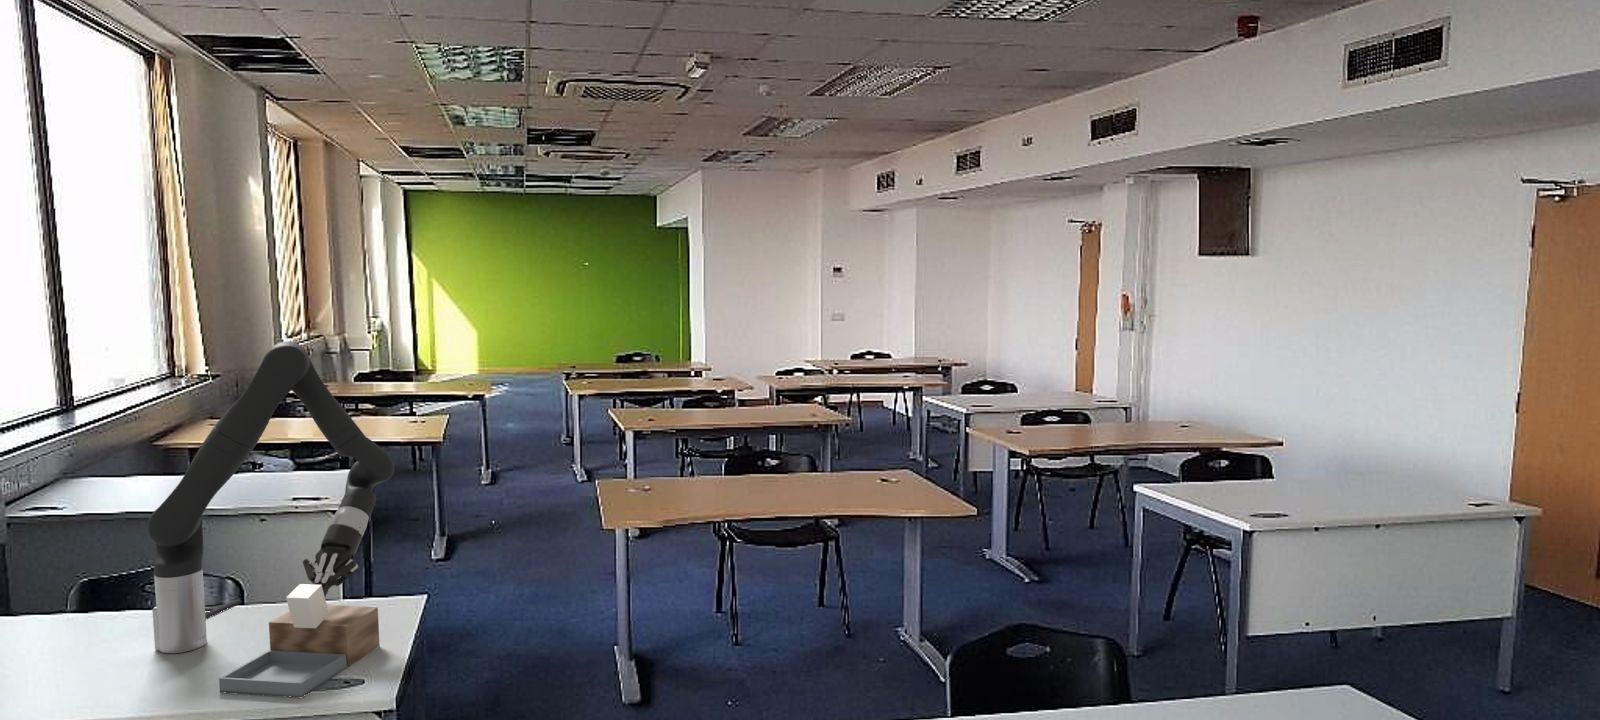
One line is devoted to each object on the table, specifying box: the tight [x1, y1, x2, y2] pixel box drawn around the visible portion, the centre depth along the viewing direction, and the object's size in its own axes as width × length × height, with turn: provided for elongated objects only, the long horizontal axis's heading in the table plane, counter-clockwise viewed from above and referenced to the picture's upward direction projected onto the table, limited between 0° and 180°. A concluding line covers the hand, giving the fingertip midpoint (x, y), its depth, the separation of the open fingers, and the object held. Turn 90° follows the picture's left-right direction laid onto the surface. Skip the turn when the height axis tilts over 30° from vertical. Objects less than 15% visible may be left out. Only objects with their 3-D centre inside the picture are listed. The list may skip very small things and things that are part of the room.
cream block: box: [285, 583, 329, 628], centre depth 215 cm, size 5×5×8 cm
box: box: [218, 649, 348, 698], centre depth 209 cm, size 18×15×3 cm
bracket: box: [205, 598, 243, 619], centre depth 251 cm, size 14×15×3 cm
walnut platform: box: [268, 604, 380, 668], centre depth 222 cm, size 18×12×9 cm, turn 82°
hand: (315, 601), depth 218 cm, fingers closed
